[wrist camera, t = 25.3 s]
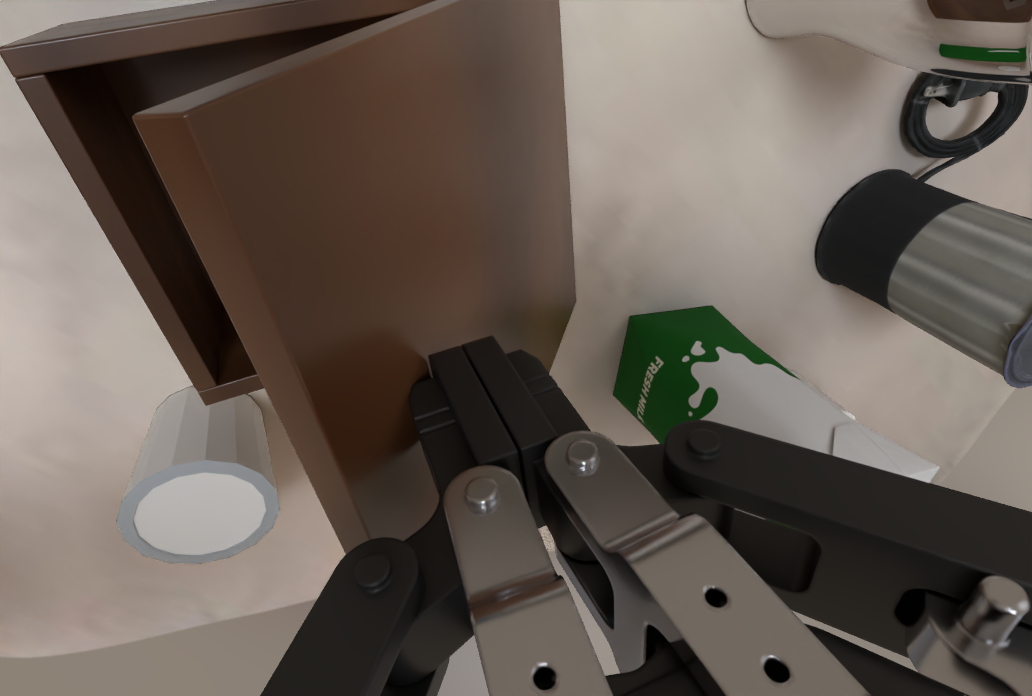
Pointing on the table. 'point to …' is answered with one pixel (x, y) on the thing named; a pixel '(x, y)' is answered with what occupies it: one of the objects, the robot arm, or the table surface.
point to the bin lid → (380, 227)
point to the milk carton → (738, 391)
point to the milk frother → (941, 242)
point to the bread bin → (126, 161)
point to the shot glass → (200, 482)
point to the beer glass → (916, 32)
